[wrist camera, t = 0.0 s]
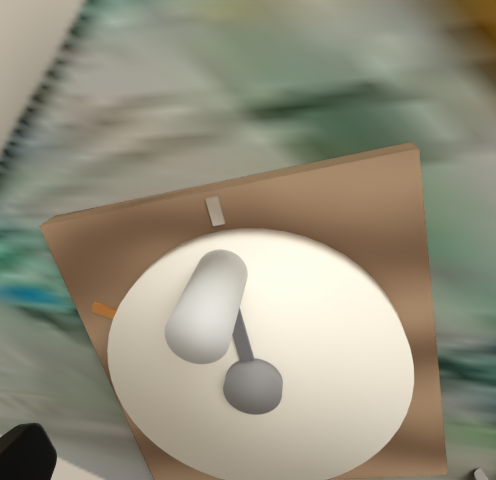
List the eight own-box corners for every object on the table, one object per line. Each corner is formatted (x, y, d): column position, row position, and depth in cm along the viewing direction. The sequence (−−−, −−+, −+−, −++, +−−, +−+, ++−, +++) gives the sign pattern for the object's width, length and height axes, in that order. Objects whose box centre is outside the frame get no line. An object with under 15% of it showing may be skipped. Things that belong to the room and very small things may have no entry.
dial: (419, 454, 25) (456, 583, 18) (168, 469, 28) (130, 583, 22) (389, 200, 19) (428, 266, 13) (77, 256, 22) (-9, 330, 16)
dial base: (440, 453, 26) (448, 477, 25) (164, 469, 30) (157, 491, 29) (410, 142, 19) (420, 149, 18) (54, 216, 23) (36, 227, 22)
